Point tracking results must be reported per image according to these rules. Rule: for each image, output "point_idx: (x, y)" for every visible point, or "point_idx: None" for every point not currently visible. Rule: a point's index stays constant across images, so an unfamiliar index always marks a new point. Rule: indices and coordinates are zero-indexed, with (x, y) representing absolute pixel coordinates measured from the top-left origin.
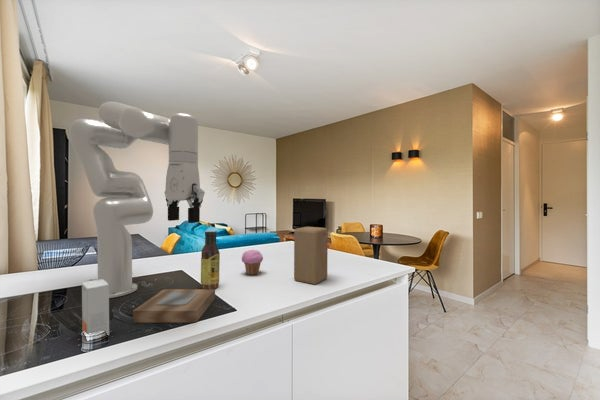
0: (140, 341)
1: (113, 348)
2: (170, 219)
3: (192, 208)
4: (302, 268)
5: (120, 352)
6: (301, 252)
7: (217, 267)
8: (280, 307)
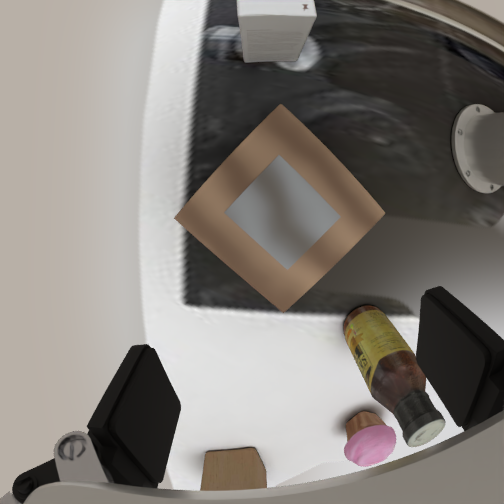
0: (175, 103)
1: (182, 63)
2: (424, 303)
3: (97, 441)
4: (231, 470)
5: (159, 72)
6: None
7: (358, 366)
8: None
